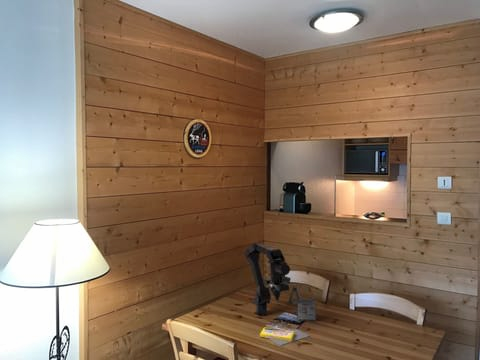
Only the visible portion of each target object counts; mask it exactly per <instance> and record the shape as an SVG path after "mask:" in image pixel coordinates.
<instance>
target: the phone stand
mask: <svg viewBox="0 0 480 360" xmlns="http://www.w3.org/2000/svg"><path fill="white" fill-rule="evenodd" d="M291 288H292V290H291V293H290V296H289V299H288V301H287V305H289V306H290V305H291V306H292V305H293V306H297V299H303V297H302V294H301V292H300V289H299V288H300V287H299V284H298V283H294V284H293V285H292V287H291ZM294 295H295V296H296V301H295V300H293V299H294Z"/></svg>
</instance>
